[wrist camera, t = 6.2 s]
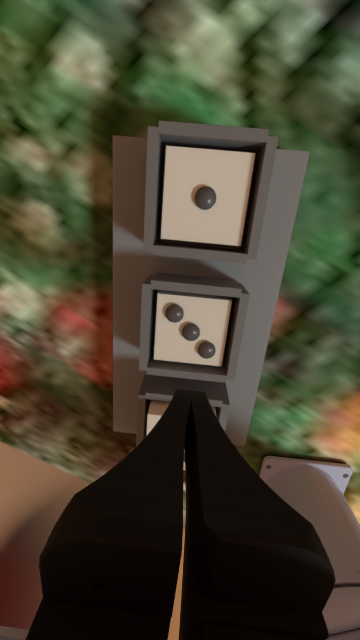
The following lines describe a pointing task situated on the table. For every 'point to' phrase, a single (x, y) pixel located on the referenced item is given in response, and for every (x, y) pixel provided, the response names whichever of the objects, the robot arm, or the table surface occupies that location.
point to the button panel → (196, 273)
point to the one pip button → (205, 195)
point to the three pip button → (191, 327)
